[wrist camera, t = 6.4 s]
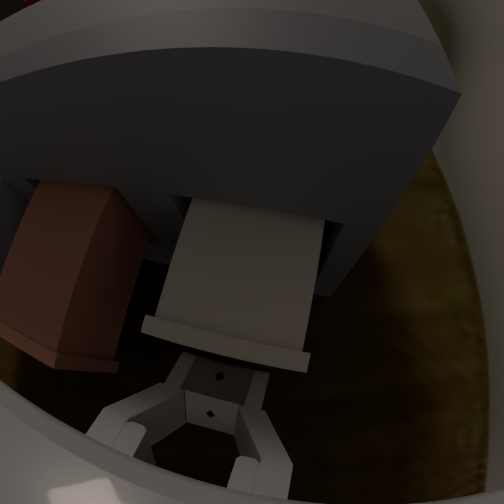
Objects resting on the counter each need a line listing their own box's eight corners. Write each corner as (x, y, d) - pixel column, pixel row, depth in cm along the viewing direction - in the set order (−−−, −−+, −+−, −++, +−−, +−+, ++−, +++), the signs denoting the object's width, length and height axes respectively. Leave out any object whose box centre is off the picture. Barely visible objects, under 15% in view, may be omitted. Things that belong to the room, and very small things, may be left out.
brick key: (117, 373, 12) (53, 368, 7) (45, 340, 12) (-20, 322, 8) (165, 212, 14) (129, 155, 10) (93, 201, 15) (48, 152, 11)
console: (330, 297, 16) (461, 93, 3) (26, 230, 18) (-94, 126, 6) (344, 183, 18) (400, -27, 6) (65, 151, 21) (-20, 33, 9)
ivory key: (294, 370, 11) (306, 372, 7) (184, 345, 12) (140, 331, 8) (324, 200, 14) (341, 135, 10) (230, 184, 14) (215, 117, 10)
